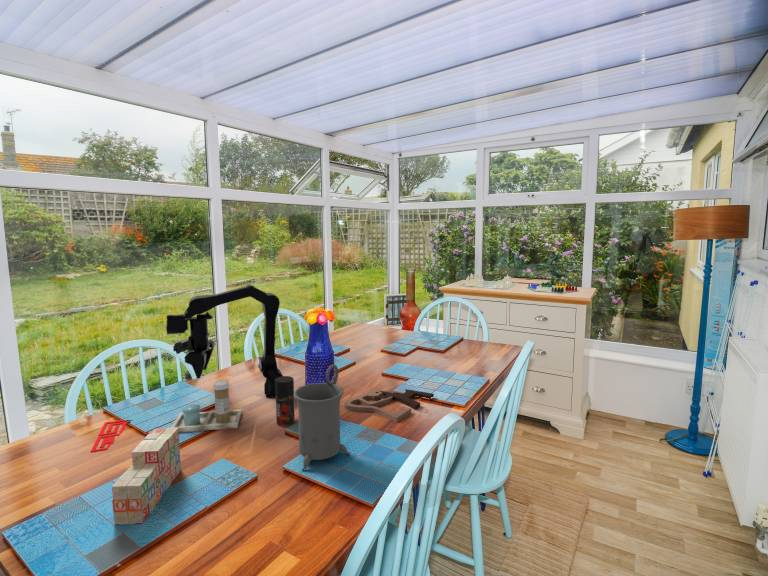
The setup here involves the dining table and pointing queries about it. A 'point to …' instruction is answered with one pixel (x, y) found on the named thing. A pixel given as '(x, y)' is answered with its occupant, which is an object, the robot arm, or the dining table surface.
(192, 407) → the pot
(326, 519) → the dining table surface
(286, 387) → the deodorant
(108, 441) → the maze puzzle
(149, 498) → the stack of blocks
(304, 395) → the grey footed bucket
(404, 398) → the wood carving
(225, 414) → the sprinkles bottle
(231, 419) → the caddy
